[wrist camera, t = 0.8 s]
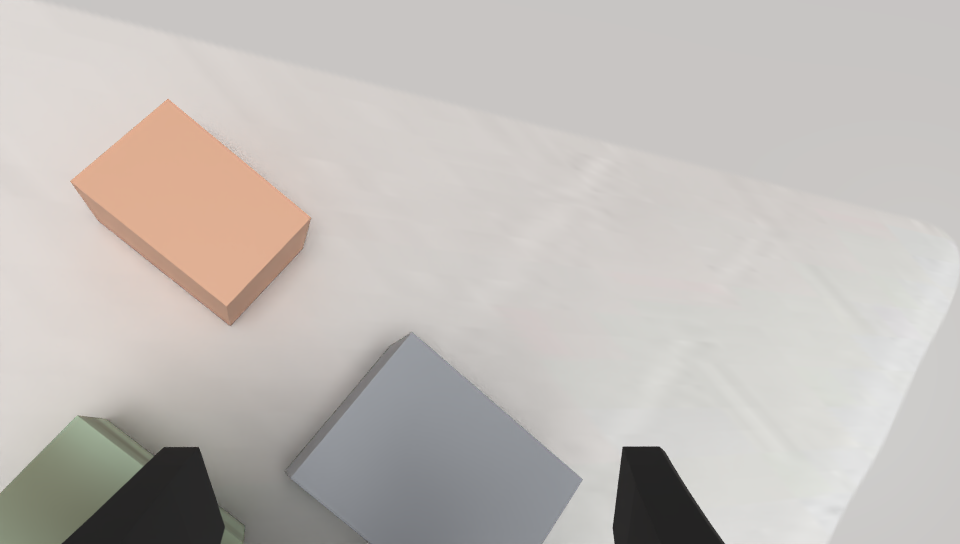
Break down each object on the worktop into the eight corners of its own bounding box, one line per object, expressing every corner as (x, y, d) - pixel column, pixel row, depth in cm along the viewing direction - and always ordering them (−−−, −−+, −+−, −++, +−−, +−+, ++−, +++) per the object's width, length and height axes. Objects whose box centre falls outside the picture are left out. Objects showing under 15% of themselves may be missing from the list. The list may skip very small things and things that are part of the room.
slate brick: (449, 606, 25) (483, 636, 21) (284, 471, 24) (290, 478, 20) (537, 473, 27) (582, 479, 23) (390, 346, 26) (412, 332, 23)
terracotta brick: (230, 325, 25) (226, 306, 21) (98, 220, 24) (70, 181, 20) (302, 248, 26) (311, 217, 22) (180, 147, 25) (168, 98, 22)
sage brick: (158, 632, 22) (139, 672, 18) (7, 520, 21) (-45, 538, 17) (245, 526, 23) (243, 543, 19) (106, 418, 23) (77, 415, 19)
